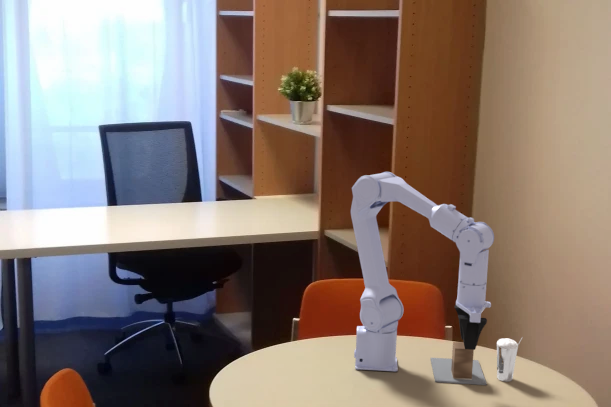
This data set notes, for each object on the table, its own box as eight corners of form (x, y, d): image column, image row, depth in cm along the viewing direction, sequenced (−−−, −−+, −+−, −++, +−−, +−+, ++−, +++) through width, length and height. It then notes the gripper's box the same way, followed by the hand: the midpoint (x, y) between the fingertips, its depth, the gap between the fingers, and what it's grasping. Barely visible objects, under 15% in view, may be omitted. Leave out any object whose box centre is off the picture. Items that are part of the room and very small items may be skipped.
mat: (435, 382, 159) (435, 380, 159) (430, 359, 172) (430, 357, 172) (486, 385, 158) (486, 383, 158) (478, 361, 171) (478, 360, 171)
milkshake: (520, 384, 159) (523, 340, 157) (494, 381, 160) (497, 338, 159) (518, 376, 164) (521, 333, 162) (493, 373, 165) (496, 331, 163)
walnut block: (453, 378, 160) (455, 348, 159) (451, 371, 164) (453, 341, 163) (471, 379, 160) (473, 349, 159) (469, 372, 164) (471, 342, 163)
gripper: (498, 292, 144) (493, 358, 146) (486, 273, 158) (482, 333, 160) (461, 291, 144) (457, 356, 147) (453, 271, 159) (449, 331, 161)
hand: (468, 344), depth 154 cm, fingers open, 5 cm apart
